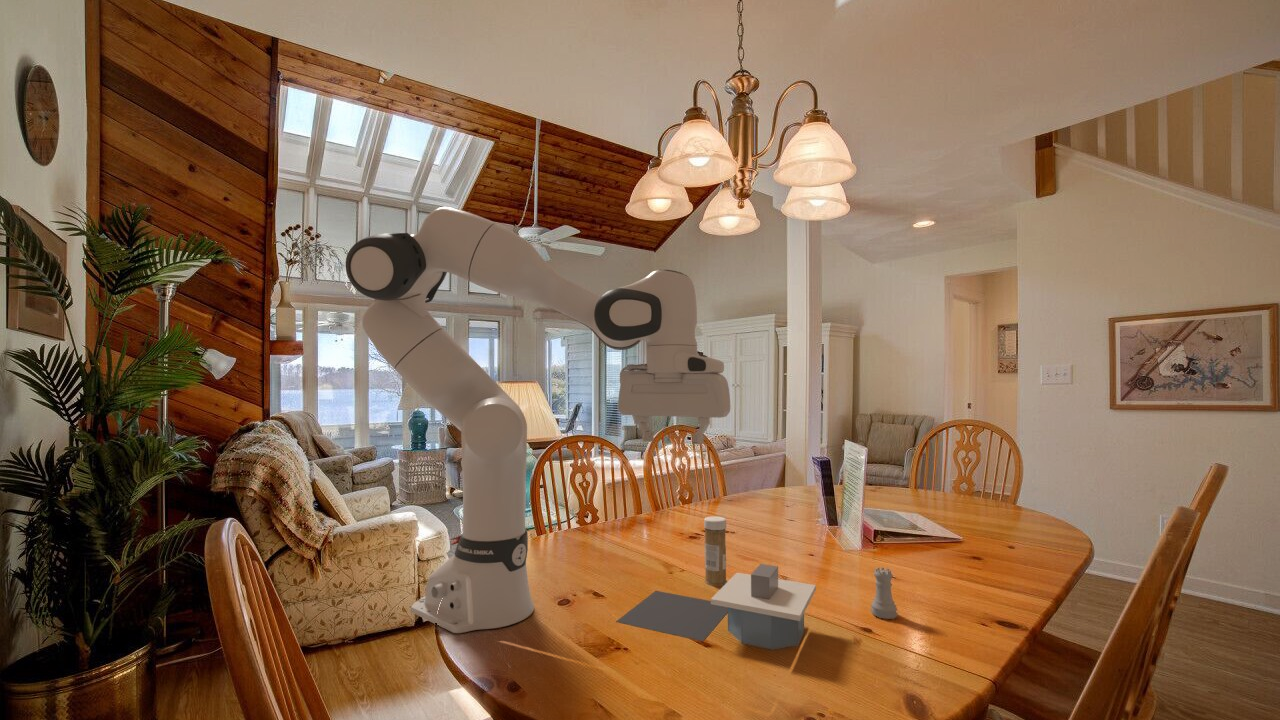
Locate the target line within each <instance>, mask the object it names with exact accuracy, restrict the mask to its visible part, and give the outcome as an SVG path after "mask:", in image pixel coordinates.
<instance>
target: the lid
mask: <svg viewBox="0 0 1280 720" xmlns="http://www.w3.org/2000/svg"><path fill="white" fill-rule="evenodd" d="M816 591H817V584H812V583H805V582H798V581H792V580H787V579H781V578H780V579H779V566H778V565H770V564H763V563H760V564H759V565H758V566H757V567H756V568H755V569H754V571H753V572H752V573H750V574H749V573H743V572H736V573H735V574H733V575H732V577H731V578H730V579H729V580H727V583H726V584H725V585H723V586H721V588H720V589H719V590H718V591H717V592H716V593H715V594H714V595H713V596H712V597H711V598H710V601H711V604H713V605H718V606H723V607H729V608H734V609H739V610H744V611H750V612H755V613H760V614H765V615H771V616H776V617H781V618H786V619H792V620H797V621H800V620H801V618H802V616H803V614H804V615H805V612H806V610H807V608H808V606H809V605H810V603H811V601H812V598H813V596H814V594H815V593H816Z"/></svg>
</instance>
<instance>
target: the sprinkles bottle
mask: <svg viewBox="0 0 1280 720" xmlns="http://www.w3.org/2000/svg"><path fill="white" fill-rule="evenodd" d="M703 527H704V567H705V580H704V583H705V584H707V585H709V586H712V587H720V586H721V587H723V586H724V585H725V584H726V583H727V582H728V580H727V546H726V530H727V519H726V518H725V517H722V516H712V515H711V516H706V517H704V521H703Z"/></svg>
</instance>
